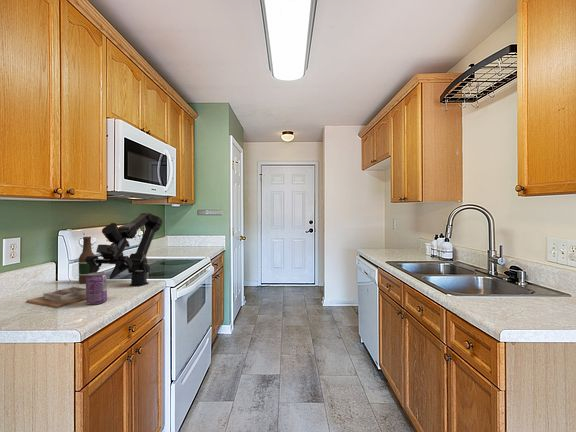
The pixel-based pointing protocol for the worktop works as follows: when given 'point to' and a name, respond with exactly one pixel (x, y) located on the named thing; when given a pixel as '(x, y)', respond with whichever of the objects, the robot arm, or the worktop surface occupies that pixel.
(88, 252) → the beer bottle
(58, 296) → the can holder
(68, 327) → the worktop surface
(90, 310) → the worktop surface
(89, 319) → the worktop surface
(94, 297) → the beverage can
